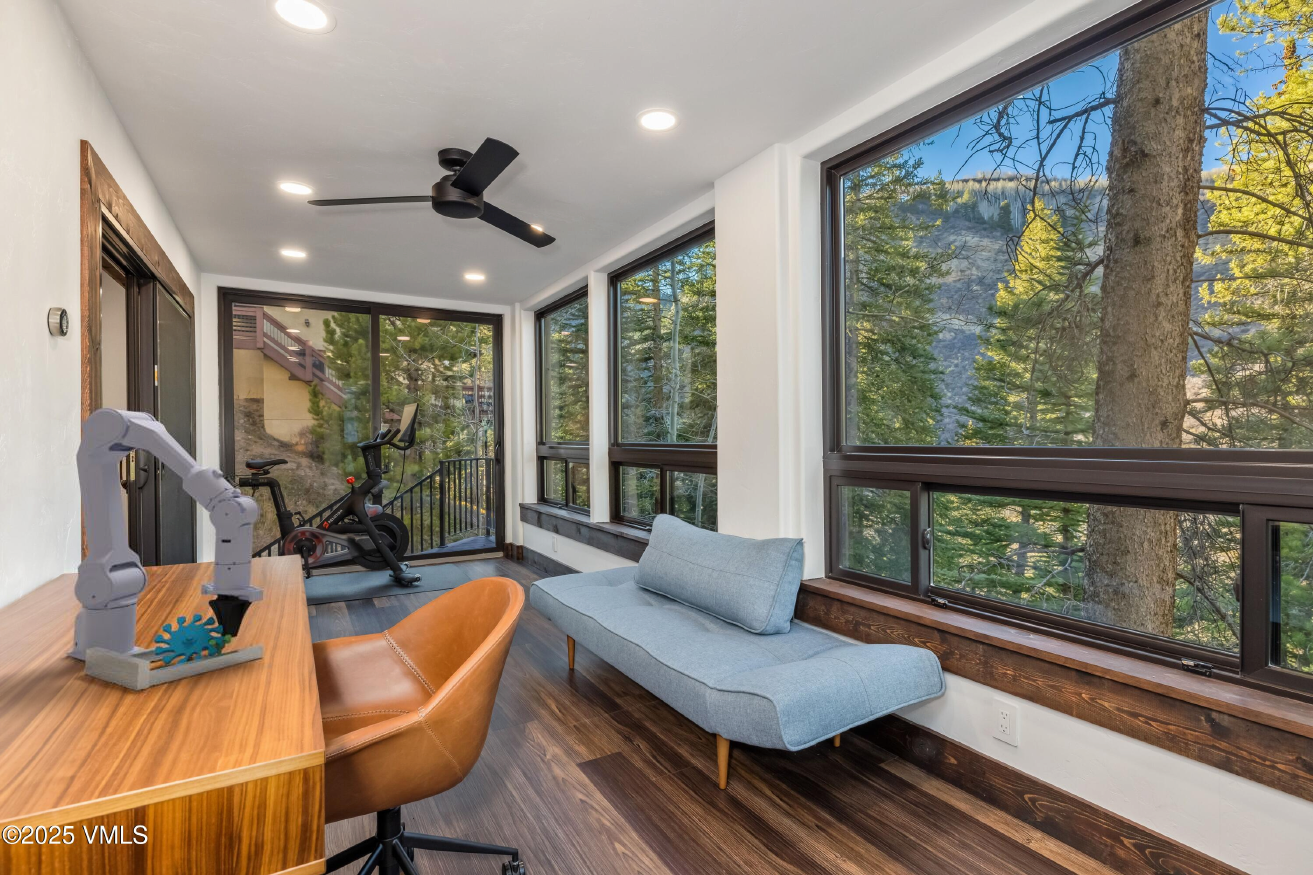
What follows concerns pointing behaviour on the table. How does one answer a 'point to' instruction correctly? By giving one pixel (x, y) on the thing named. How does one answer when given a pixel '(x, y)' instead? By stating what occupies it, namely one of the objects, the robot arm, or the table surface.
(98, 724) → the table surface
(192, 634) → the gear
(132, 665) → the rail dock
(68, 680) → the table surface
